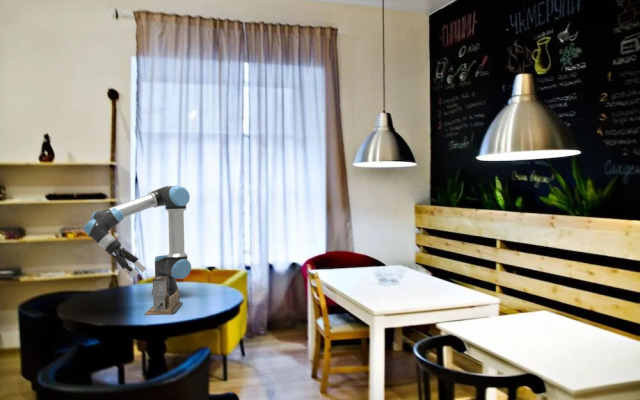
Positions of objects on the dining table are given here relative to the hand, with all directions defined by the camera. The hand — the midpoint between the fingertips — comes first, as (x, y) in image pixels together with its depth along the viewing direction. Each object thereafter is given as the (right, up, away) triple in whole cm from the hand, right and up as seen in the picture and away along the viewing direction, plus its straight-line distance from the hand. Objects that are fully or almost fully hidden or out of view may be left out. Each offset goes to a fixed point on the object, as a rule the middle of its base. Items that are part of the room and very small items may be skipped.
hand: (140, 272), depth 243 cm
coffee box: (+10, -19, +1) cm, 22 cm away
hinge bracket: (+12, -19, +1) cm, 23 cm away
